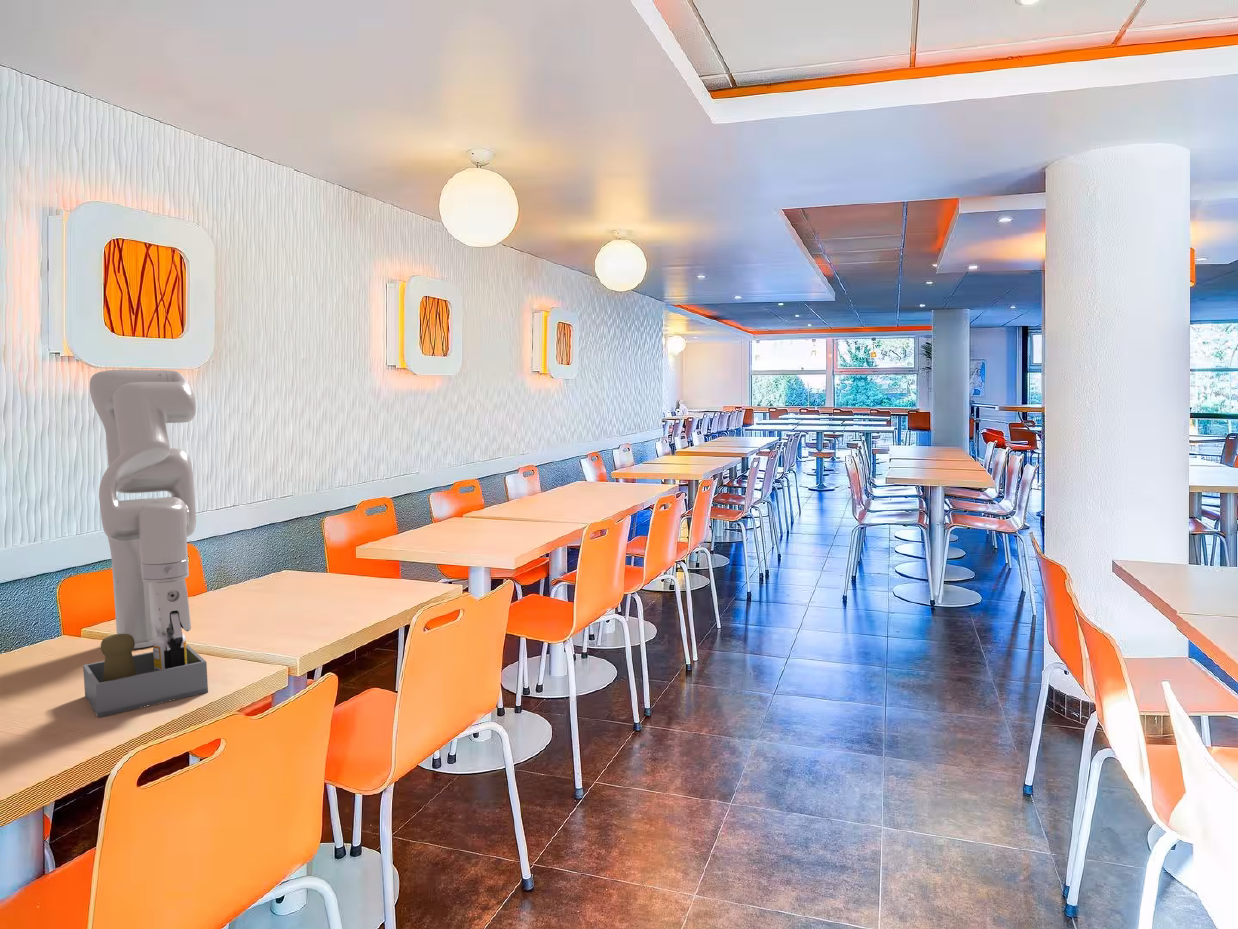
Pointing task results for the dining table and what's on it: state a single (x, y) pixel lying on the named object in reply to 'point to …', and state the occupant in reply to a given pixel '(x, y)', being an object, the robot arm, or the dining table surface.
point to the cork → (118, 656)
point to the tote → (144, 684)
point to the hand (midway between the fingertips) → (171, 665)
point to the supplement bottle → (160, 648)
